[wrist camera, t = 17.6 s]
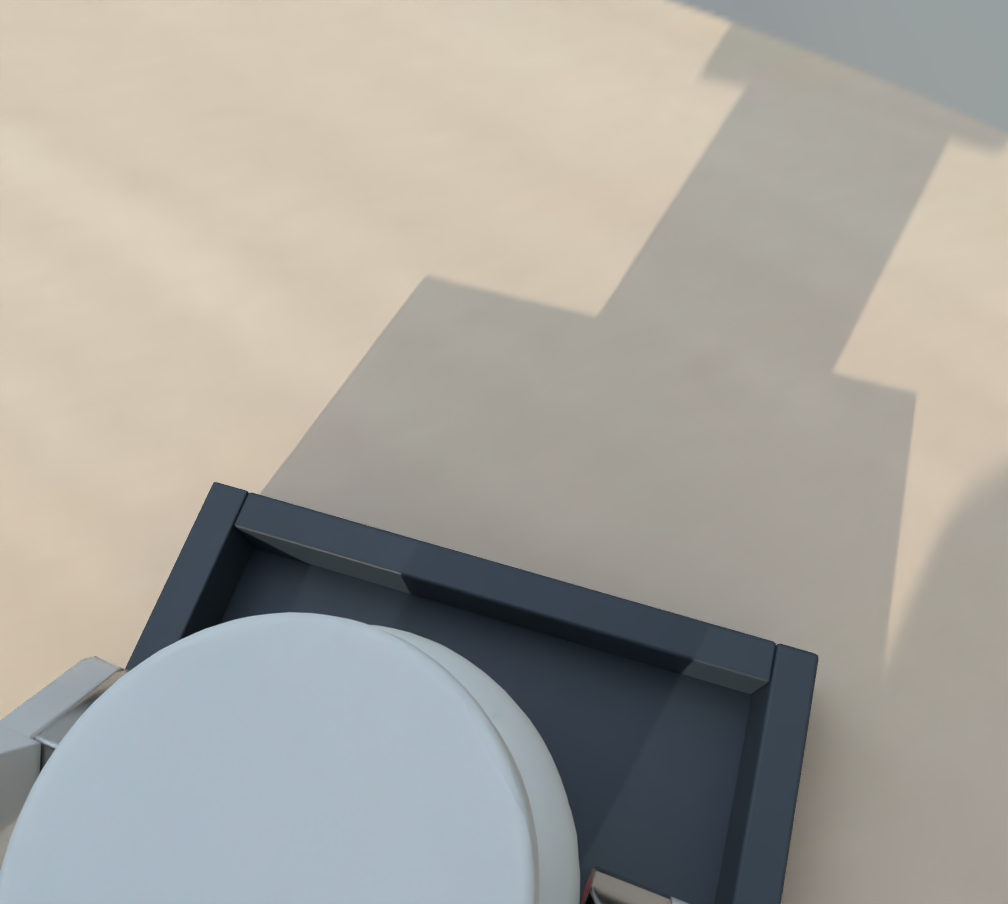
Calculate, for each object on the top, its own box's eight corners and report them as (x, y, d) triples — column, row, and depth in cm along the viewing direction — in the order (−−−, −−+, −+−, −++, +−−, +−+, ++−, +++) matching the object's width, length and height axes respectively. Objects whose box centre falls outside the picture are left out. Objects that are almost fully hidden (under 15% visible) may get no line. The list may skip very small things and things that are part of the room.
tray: (791, 672, 18) (820, 654, 16) (678, 1350, 14) (701, 1429, 12) (242, 513, 20) (213, 481, 18) (-9, 1067, 16) (-81, 1098, 14)
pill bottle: (544, 687, 18) (560, 523, 8) (581, 1018, 15) (658, 1280, 6) (266, 715, 17) (-19, 579, 8) (258, 1053, 15) (-148, 1371, 6)
